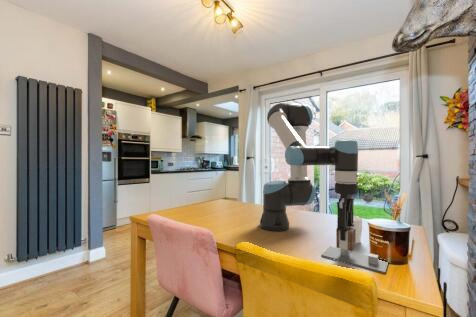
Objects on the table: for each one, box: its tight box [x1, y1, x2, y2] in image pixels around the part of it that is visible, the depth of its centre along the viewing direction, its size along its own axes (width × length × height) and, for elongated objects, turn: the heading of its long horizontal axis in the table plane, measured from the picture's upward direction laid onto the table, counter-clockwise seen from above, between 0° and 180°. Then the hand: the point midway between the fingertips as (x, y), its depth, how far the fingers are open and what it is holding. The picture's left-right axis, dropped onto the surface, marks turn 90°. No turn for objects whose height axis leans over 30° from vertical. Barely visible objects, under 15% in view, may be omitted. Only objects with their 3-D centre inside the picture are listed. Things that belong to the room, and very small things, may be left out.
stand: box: [320, 246, 389, 275], centre depth 83 cm, size 20×10×3 cm, turn 51°
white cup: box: [351, 215, 363, 244], centre depth 101 cm, size 8×8×10 cm
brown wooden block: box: [335, 227, 357, 252], centre depth 85 cm, size 5×5×7 cm
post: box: [340, 249, 350, 257], centre depth 85 cm, size 3×3×7 cm
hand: (345, 246), depth 85 cm, fingers closed on brown wooden block, 5 cm apart
